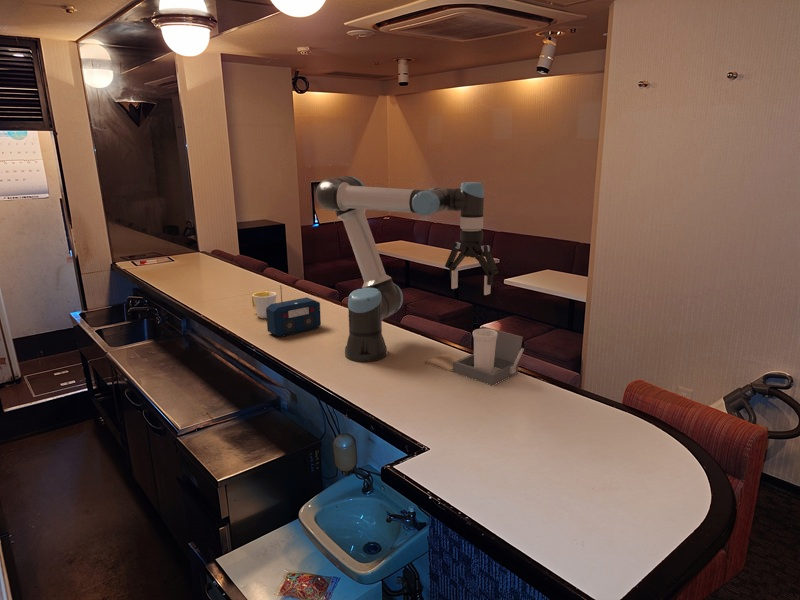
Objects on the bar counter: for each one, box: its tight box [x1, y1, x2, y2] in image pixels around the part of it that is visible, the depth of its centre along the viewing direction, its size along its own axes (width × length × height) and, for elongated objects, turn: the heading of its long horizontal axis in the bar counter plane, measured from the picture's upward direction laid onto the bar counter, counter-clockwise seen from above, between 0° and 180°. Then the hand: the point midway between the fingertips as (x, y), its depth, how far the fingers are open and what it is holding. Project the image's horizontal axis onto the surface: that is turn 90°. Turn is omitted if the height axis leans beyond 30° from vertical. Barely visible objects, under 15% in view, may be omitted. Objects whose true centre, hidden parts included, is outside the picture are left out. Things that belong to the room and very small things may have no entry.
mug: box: [251, 291, 277, 319], centre depth 243 cm, size 14×10×10 cm
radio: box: [266, 284, 322, 338], centre depth 220 cm, size 21×9×20 cm, turn 129°
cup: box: [472, 328, 498, 374], centre depth 177 cm, size 8×8×14 cm
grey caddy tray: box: [452, 325, 525, 386], centre depth 178 cm, size 16×17×12 cm
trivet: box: [424, 353, 463, 372], centre depth 188 cm, size 11×11×1 cm
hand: (470, 291), depth 187 cm, fingers open, 13 cm apart
